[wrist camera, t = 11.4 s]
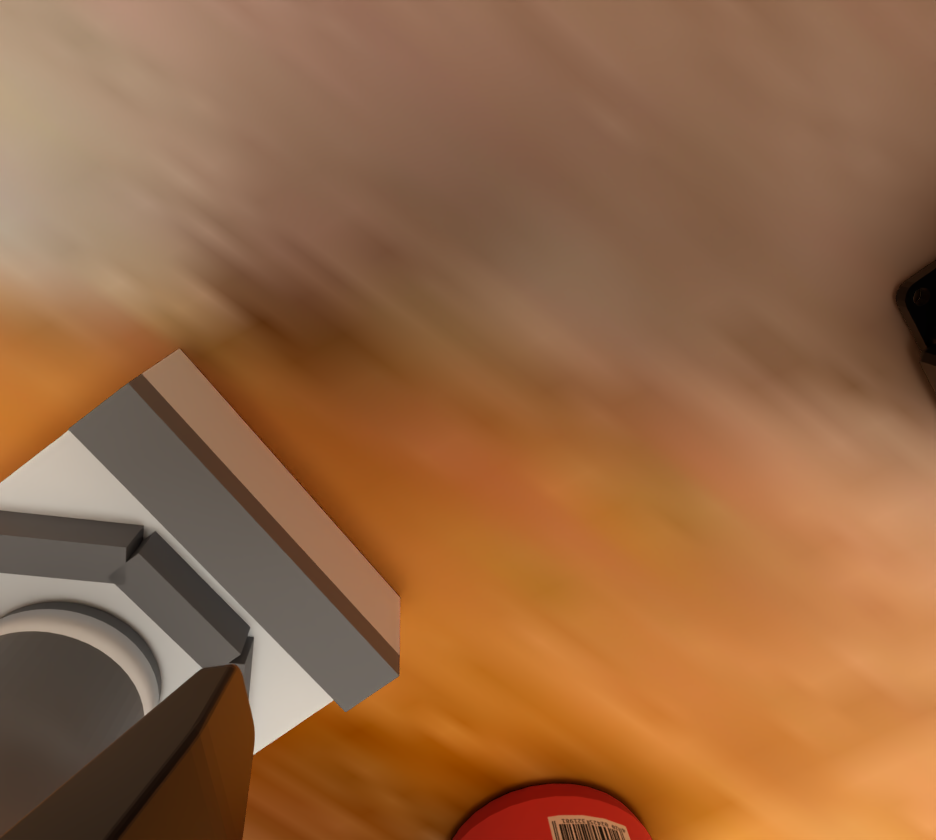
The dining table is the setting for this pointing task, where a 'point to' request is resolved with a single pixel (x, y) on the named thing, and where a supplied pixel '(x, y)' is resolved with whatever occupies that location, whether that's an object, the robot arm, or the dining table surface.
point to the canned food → (553, 816)
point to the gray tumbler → (65, 696)
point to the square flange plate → (199, 550)
